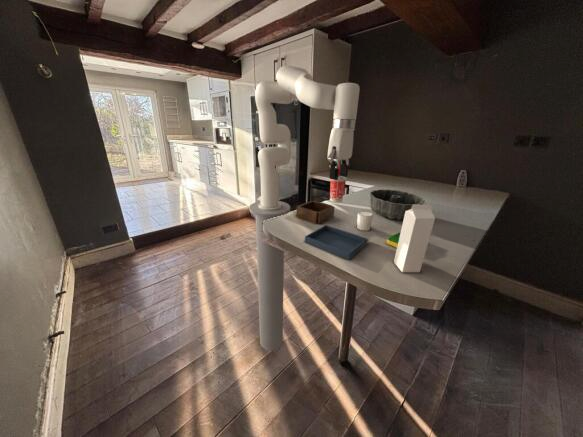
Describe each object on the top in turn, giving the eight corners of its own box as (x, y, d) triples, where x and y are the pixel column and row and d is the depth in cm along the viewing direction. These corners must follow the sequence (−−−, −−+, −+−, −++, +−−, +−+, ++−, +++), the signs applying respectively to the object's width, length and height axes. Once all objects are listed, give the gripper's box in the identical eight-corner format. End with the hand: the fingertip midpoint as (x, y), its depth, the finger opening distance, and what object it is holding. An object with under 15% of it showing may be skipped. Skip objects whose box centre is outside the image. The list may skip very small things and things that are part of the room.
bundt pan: (420, 211, 128) (424, 193, 124) (420, 228, 107) (425, 207, 103) (371, 203, 139) (374, 186, 136) (362, 217, 118) (365, 198, 114)
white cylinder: (366, 224, 109) (368, 210, 106) (374, 230, 103) (376, 216, 100) (353, 225, 108) (355, 211, 105) (360, 231, 102) (362, 216, 99)
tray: (304, 242, 91) (305, 236, 90) (325, 230, 102) (325, 224, 101) (348, 259, 80) (349, 253, 79) (366, 244, 91) (367, 238, 90)
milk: (419, 272, 74) (439, 208, 66) (401, 272, 74) (418, 208, 66) (410, 261, 80) (426, 201, 71) (393, 261, 80) (407, 201, 71)
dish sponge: (420, 241, 95) (421, 235, 94) (403, 251, 87) (404, 245, 86) (403, 234, 100) (404, 229, 99) (386, 243, 92) (387, 238, 91)
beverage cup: (344, 199, 91) (349, 163, 85) (343, 204, 85) (348, 165, 80) (328, 197, 92) (332, 161, 87) (326, 202, 86) (330, 164, 81)
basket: (295, 216, 116) (295, 206, 114) (311, 209, 126) (312, 200, 124) (318, 224, 107) (319, 213, 105) (334, 216, 117) (335, 206, 115)
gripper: (345, 125, 87) (340, 173, 94) (320, 124, 74) (316, 180, 81) (364, 125, 82) (358, 176, 89) (341, 125, 70) (335, 183, 77)
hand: (338, 177), depth 85 cm, fingers closed on beverage cup, 6 cm apart
